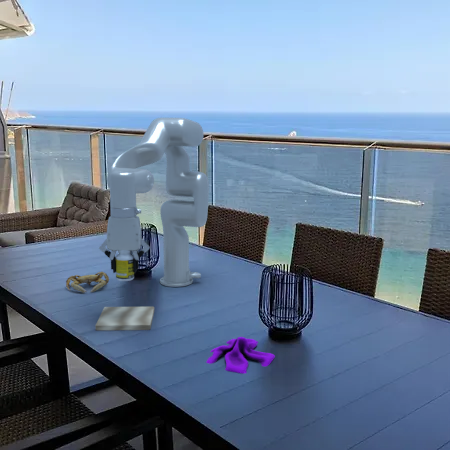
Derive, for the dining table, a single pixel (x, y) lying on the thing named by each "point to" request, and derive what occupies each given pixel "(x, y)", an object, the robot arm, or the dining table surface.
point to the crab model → (87, 281)
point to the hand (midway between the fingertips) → (125, 271)
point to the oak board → (125, 318)
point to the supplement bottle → (124, 266)
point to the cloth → (240, 354)
